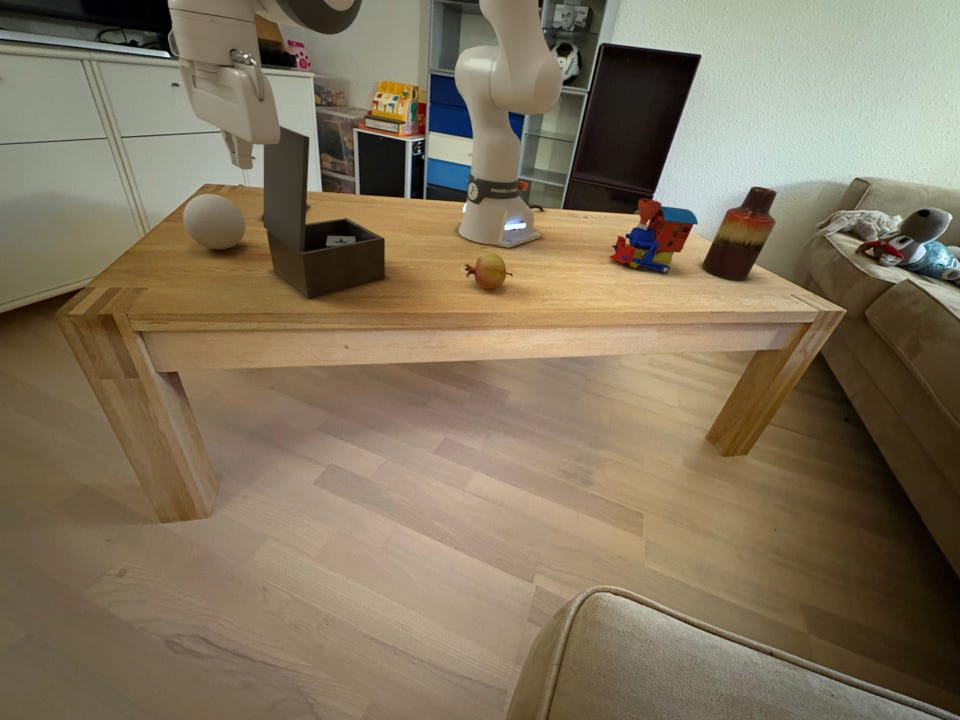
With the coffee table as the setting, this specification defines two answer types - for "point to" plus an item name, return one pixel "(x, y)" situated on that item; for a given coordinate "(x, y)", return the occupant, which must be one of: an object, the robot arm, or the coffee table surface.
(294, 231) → the lid
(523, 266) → the coffee table surface
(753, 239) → the vase
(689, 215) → the toy train
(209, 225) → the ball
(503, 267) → the fruit
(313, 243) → the box
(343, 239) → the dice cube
